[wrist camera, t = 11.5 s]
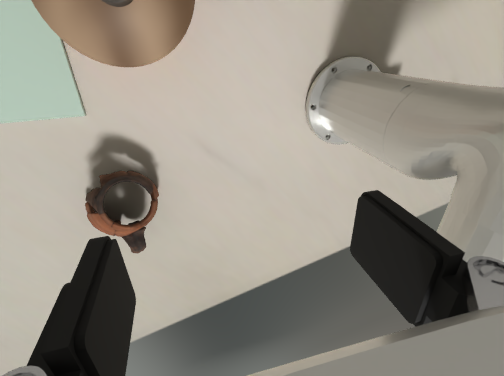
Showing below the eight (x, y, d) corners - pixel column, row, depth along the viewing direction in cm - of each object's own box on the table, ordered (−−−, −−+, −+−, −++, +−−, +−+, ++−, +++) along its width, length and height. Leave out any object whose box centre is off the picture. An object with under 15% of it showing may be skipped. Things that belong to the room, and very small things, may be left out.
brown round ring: (69, 186, 38) (70, 188, 31) (134, 160, 43) (148, 156, 36) (110, 258, 42) (120, 274, 35) (167, 226, 46) (186, 235, 39)
